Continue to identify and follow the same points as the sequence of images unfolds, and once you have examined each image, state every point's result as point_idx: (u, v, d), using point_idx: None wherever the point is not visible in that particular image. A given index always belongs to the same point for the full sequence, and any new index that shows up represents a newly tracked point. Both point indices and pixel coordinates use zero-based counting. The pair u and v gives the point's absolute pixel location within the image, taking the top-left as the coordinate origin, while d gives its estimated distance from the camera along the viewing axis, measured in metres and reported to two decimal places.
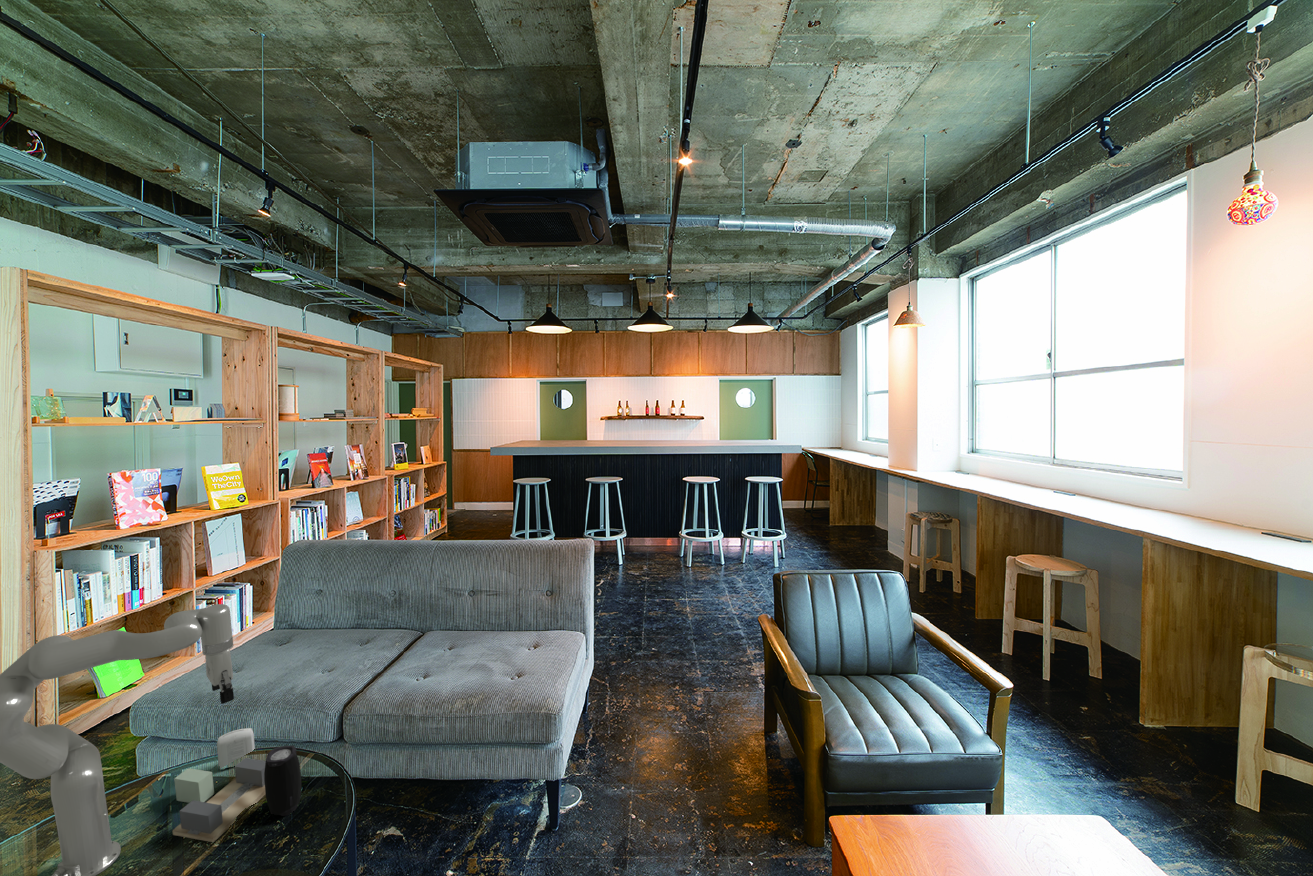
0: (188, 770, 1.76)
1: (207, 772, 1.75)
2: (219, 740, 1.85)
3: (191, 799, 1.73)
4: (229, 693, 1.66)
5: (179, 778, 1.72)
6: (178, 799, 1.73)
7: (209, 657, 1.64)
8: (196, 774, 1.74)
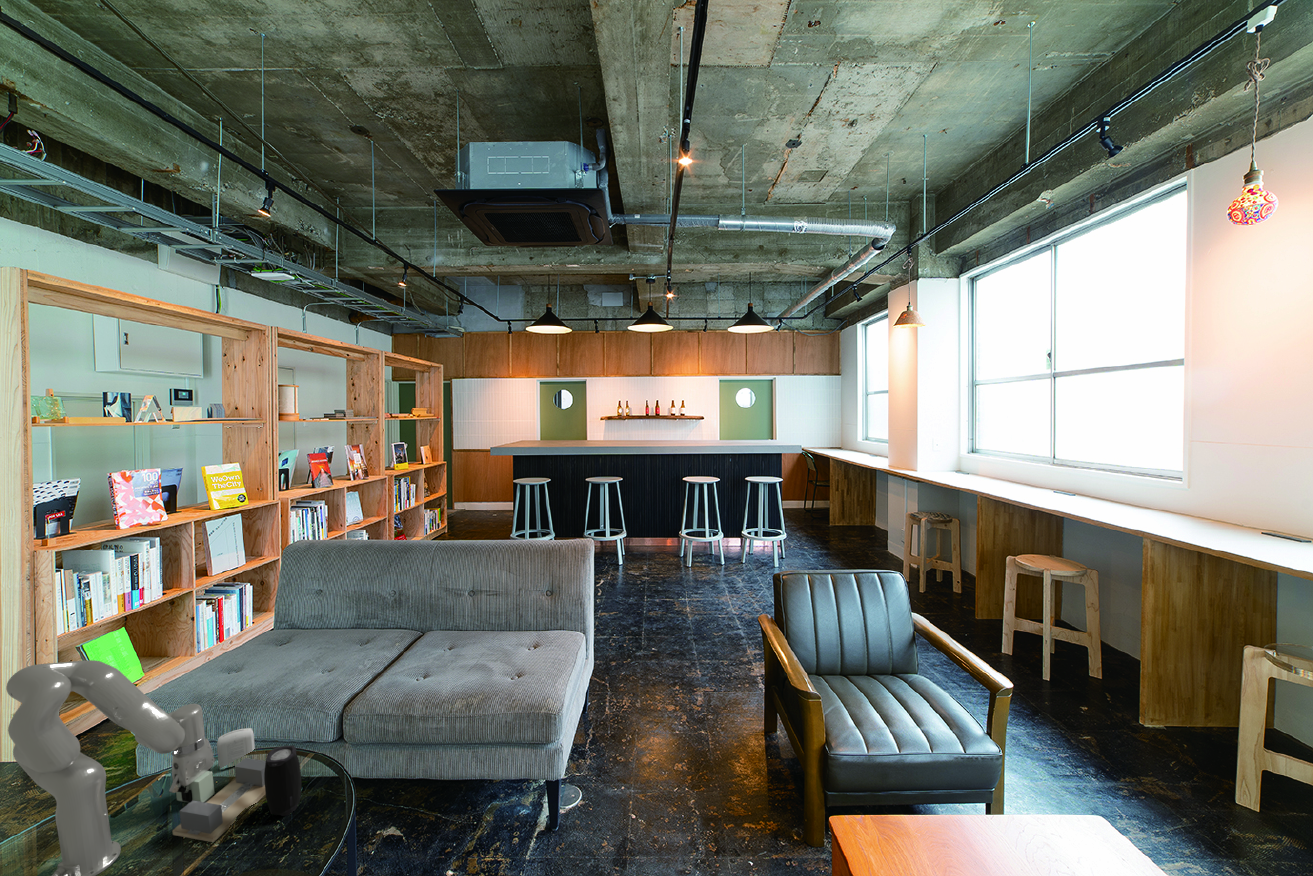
0: None
1: (207, 771, 1.75)
2: (219, 740, 1.85)
3: None
4: None
5: None
6: (178, 799, 1.73)
7: (203, 747, 1.74)
8: None
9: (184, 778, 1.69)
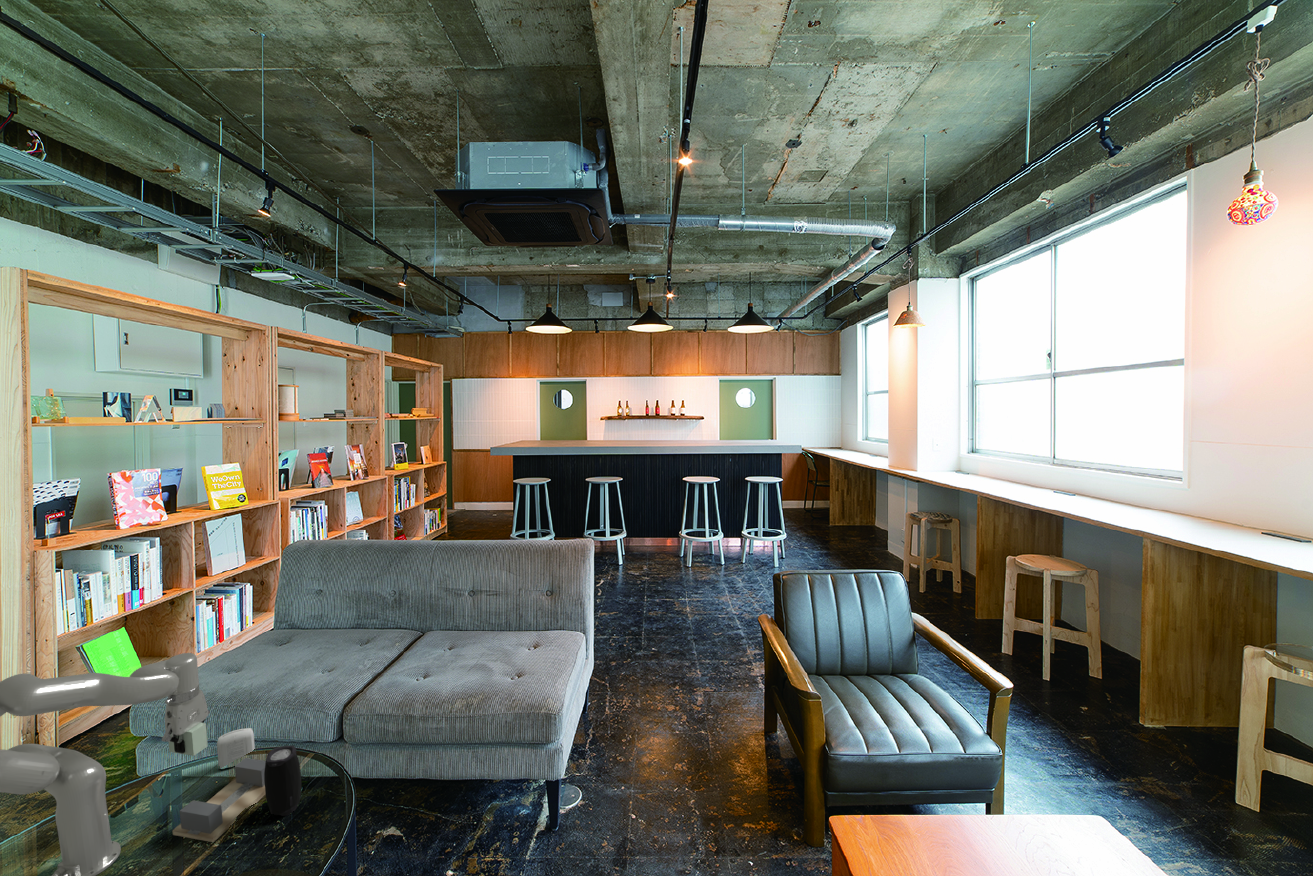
0: None
1: (201, 723, 1.73)
2: (219, 740, 1.85)
3: None
4: None
5: None
6: (171, 750, 1.70)
7: (197, 697, 1.71)
8: None
9: (177, 727, 1.66)
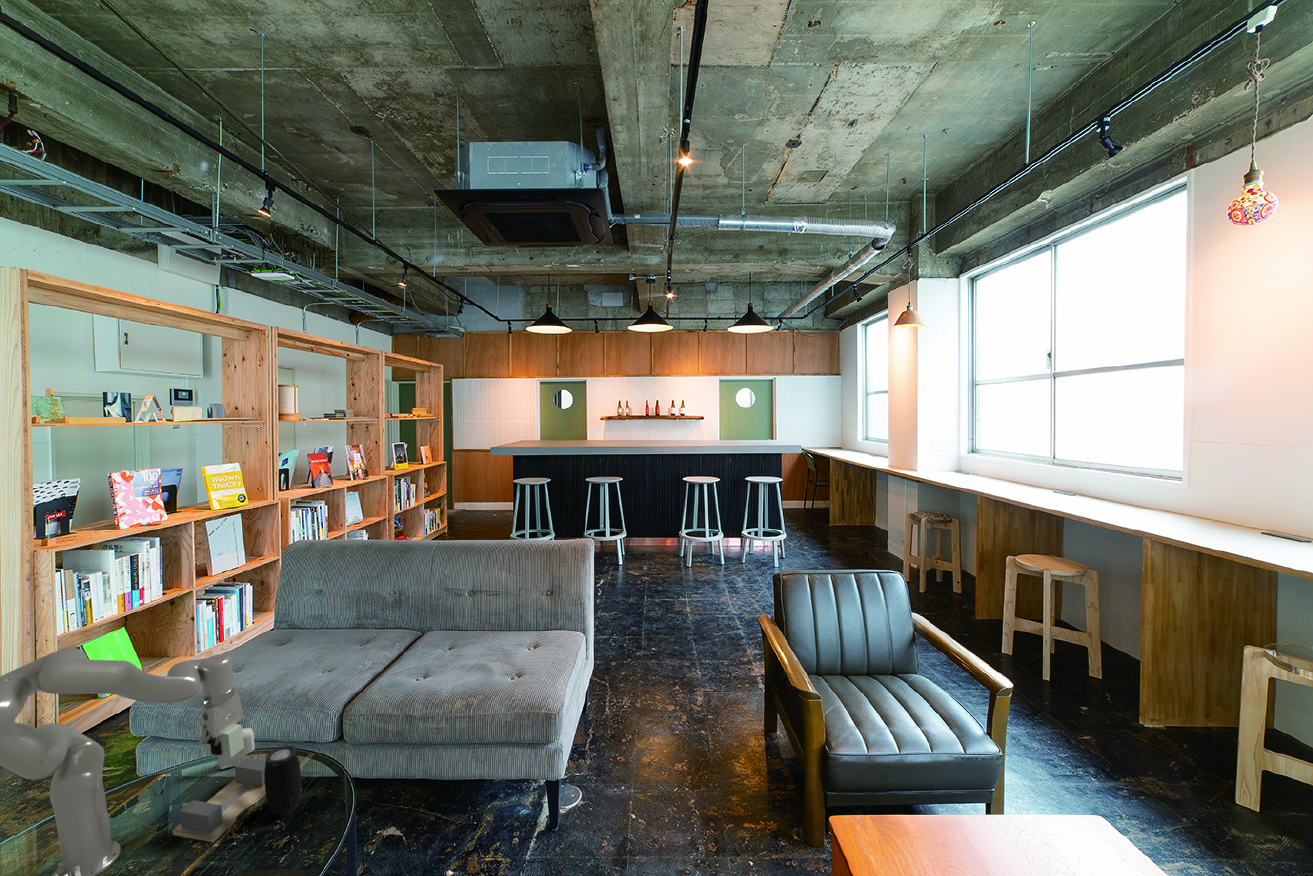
0: None
1: (237, 724, 1.69)
2: None
3: None
4: None
5: None
6: (207, 752, 1.67)
7: (233, 699, 1.68)
8: None
9: (214, 729, 1.63)
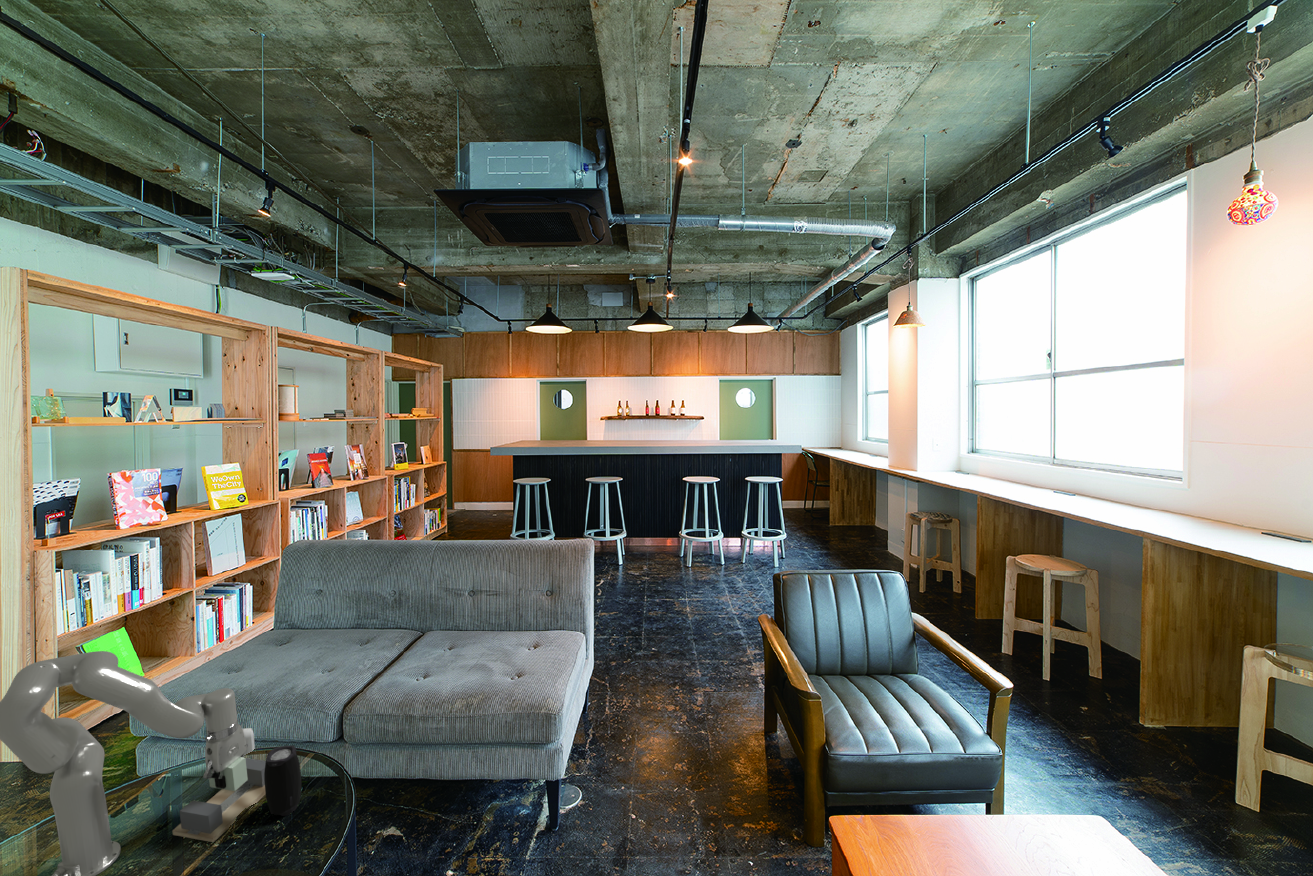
0: None
1: (241, 757, 1.71)
2: None
3: None
4: None
5: None
6: (211, 785, 1.69)
7: (236, 732, 1.70)
8: None
9: (218, 764, 1.64)
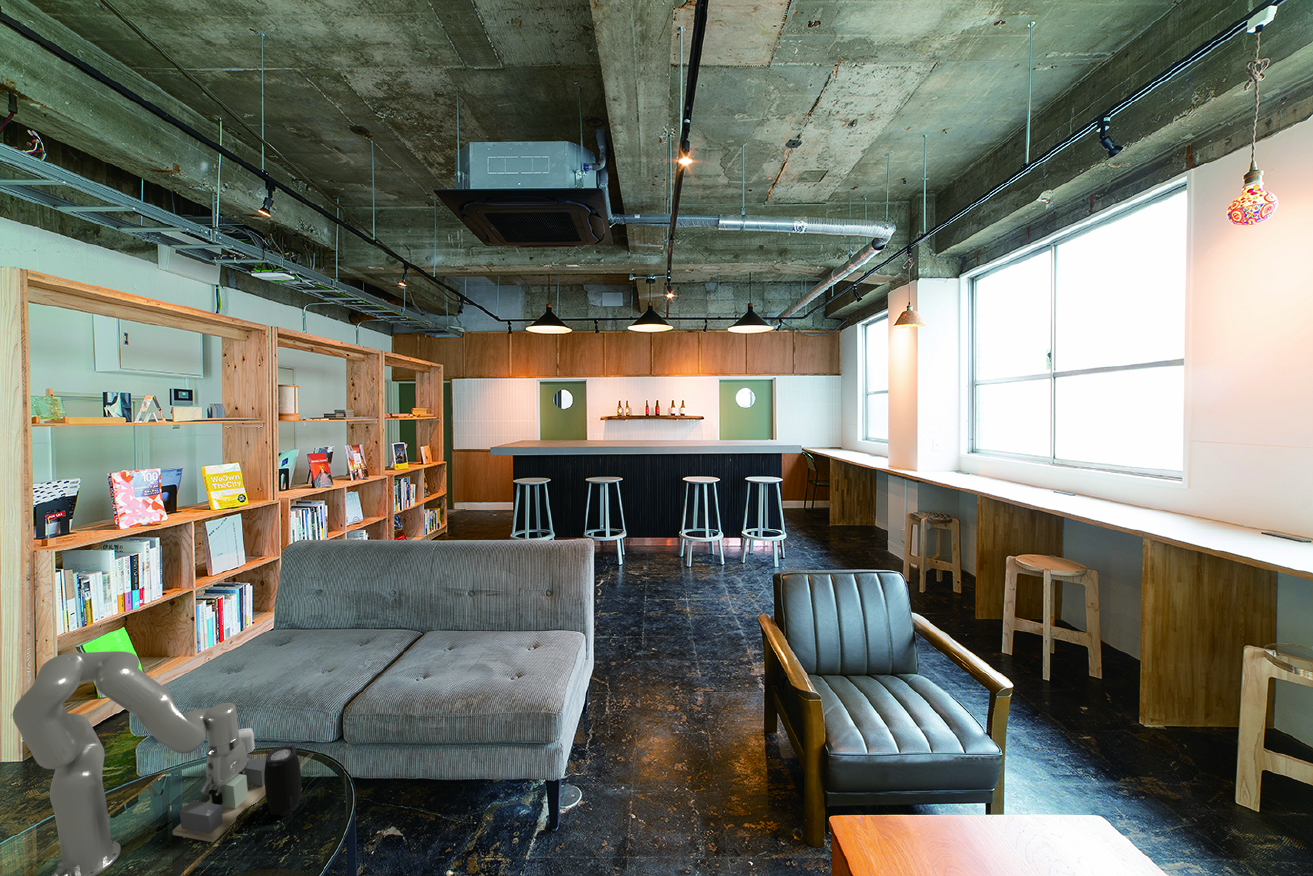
0: None
1: (241, 775, 1.72)
2: None
3: (225, 803, 1.69)
4: None
5: None
6: (212, 803, 1.70)
7: (237, 747, 1.71)
8: None
9: (219, 779, 1.65)
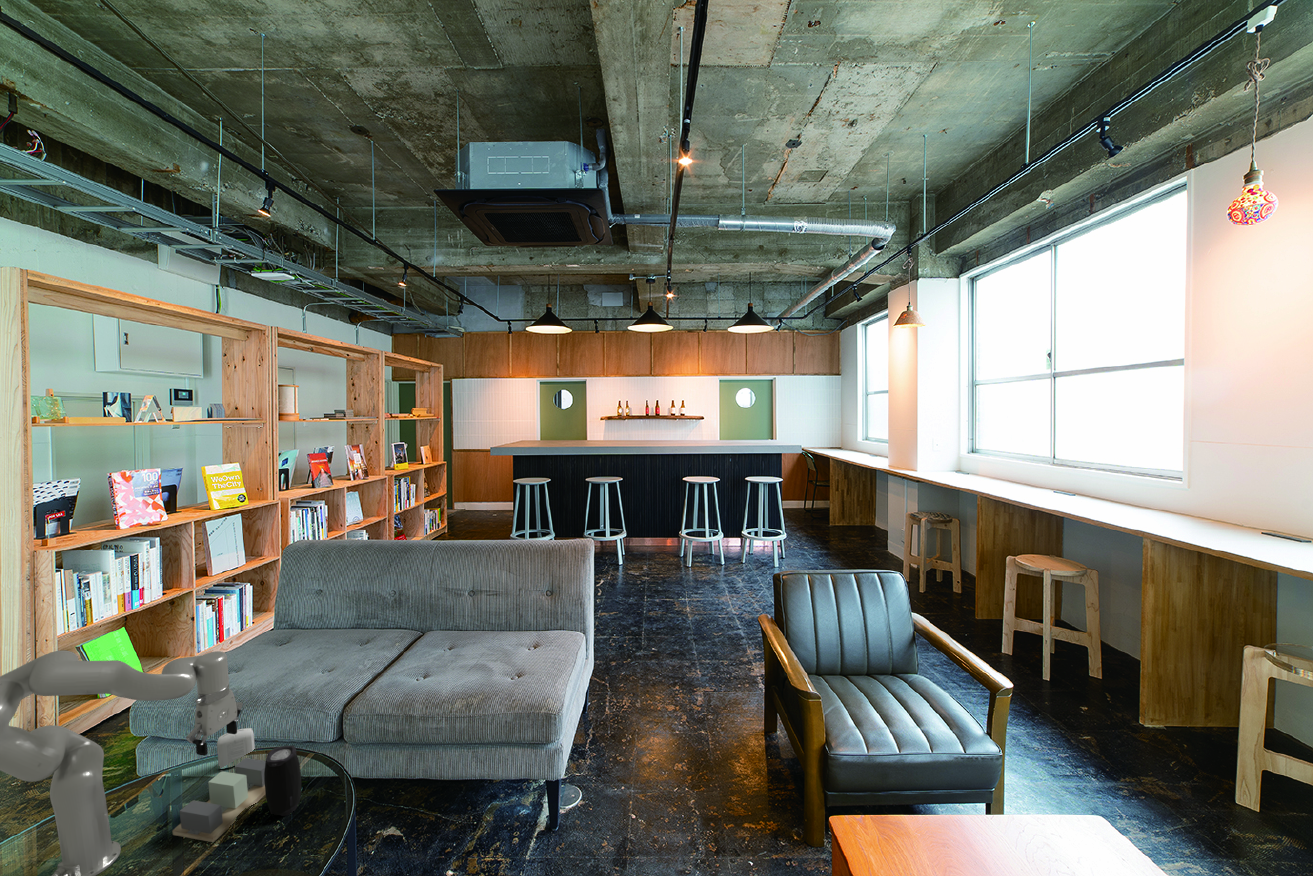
0: (222, 773, 1.72)
1: (241, 775, 1.72)
2: (219, 740, 1.85)
3: (225, 803, 1.69)
4: None
5: (213, 781, 1.69)
6: (212, 803, 1.70)
7: (227, 697, 1.68)
8: (230, 778, 1.71)
9: (207, 727, 1.62)
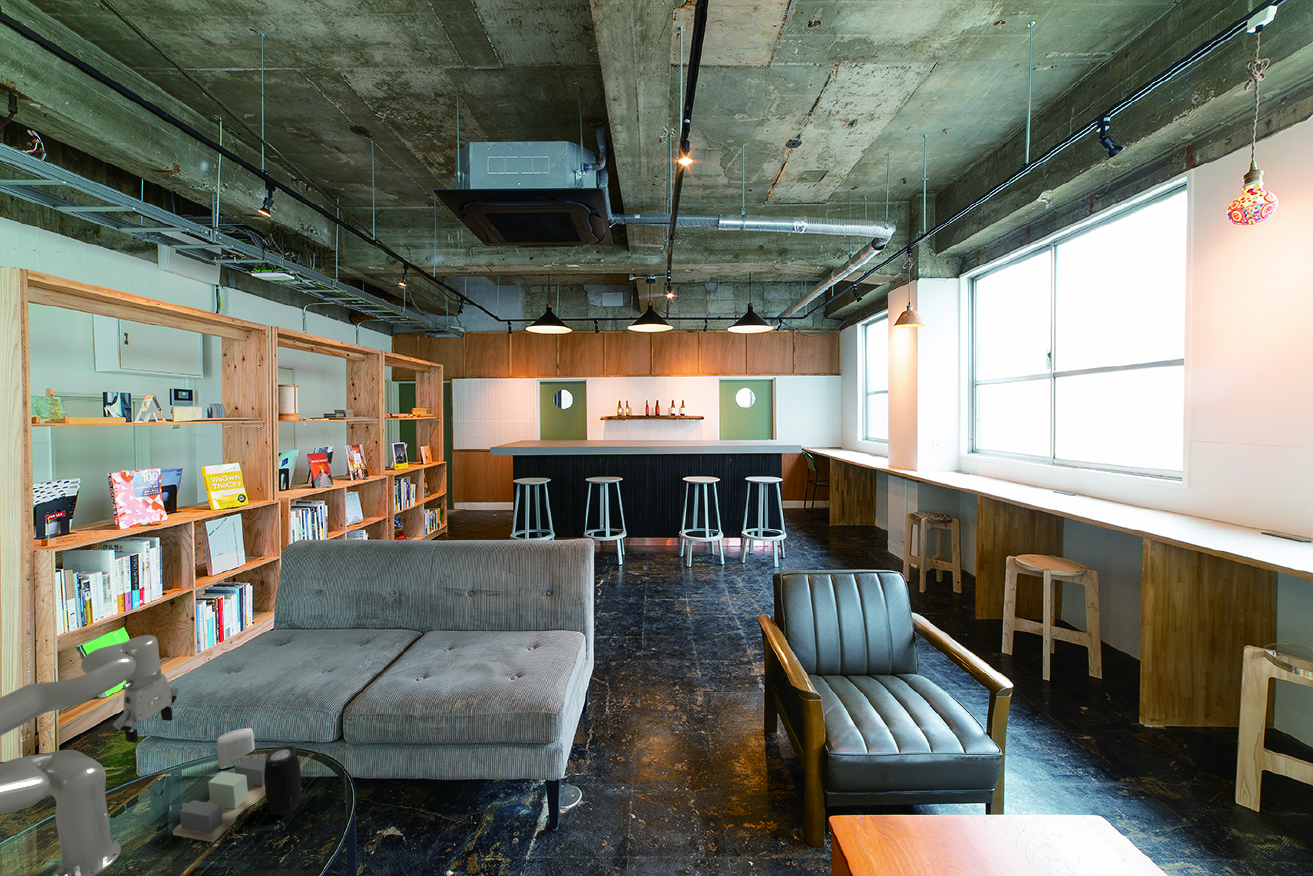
0: (222, 773, 1.72)
1: (241, 775, 1.72)
2: (219, 740, 1.85)
3: (225, 803, 1.69)
4: None
5: (213, 781, 1.69)
6: (212, 803, 1.70)
7: (159, 682, 1.61)
8: (230, 778, 1.71)
9: (137, 713, 1.56)
